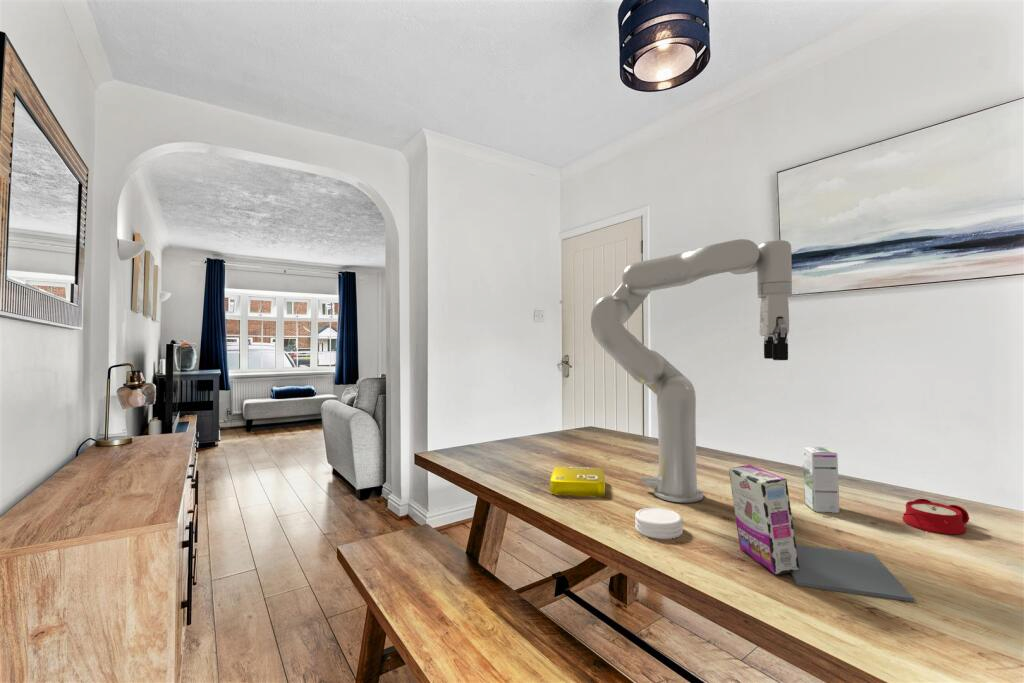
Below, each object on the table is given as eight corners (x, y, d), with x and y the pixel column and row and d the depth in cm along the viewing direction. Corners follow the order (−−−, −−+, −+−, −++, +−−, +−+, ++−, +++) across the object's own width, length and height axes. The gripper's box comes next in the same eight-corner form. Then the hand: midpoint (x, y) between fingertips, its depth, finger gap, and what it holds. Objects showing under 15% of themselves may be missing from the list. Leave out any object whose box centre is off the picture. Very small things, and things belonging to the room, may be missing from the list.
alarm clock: (894, 509, 102) (913, 481, 111) (896, 535, 103) (915, 505, 112) (958, 524, 94) (973, 492, 102) (961, 552, 95) (975, 518, 103)
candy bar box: (802, 571, 81) (788, 478, 81) (775, 576, 81) (761, 483, 81) (762, 544, 92) (750, 463, 92) (738, 549, 92) (726, 467, 92)
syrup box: (840, 513, 109) (839, 452, 109) (812, 512, 110) (811, 451, 111) (829, 505, 115) (828, 446, 115) (802, 503, 116) (801, 446, 116)
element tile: (604, 482, 138) (603, 466, 138) (605, 499, 123) (605, 481, 123) (554, 480, 141) (553, 464, 141) (549, 496, 126) (549, 479, 126)
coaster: (658, 544, 95) (658, 527, 95) (625, 527, 104) (625, 511, 104) (692, 534, 100) (692, 518, 100) (658, 518, 109) (658, 504, 109)
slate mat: (796, 585, 78) (796, 581, 78) (777, 545, 93) (777, 542, 93) (913, 601, 73) (913, 598, 73) (873, 556, 88) (873, 553, 88)
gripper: (751, 295, 125) (752, 358, 125) (765, 288, 108) (766, 360, 108) (782, 293, 123) (783, 358, 123) (801, 286, 106) (802, 360, 106)
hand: (775, 359), depth 115 cm, fingers open, 9 cm apart
